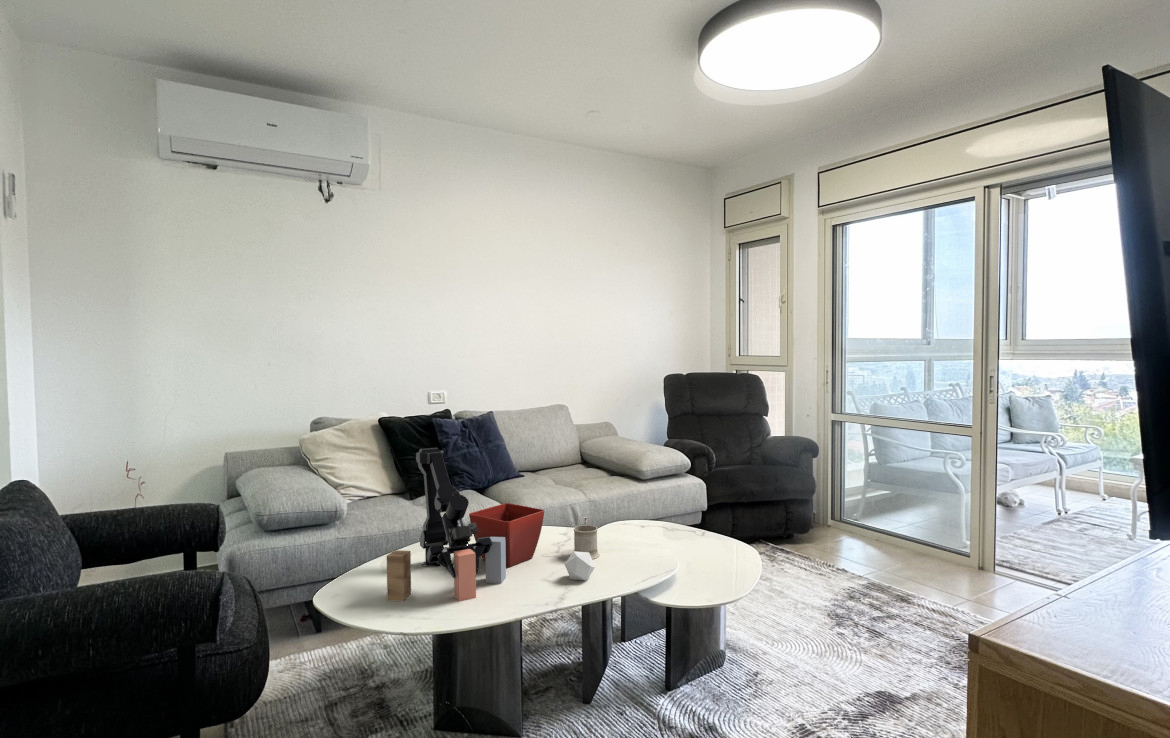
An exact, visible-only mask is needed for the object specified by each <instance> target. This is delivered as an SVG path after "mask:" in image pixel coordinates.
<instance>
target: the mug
mask: <svg viewBox="0 0 1170 738" xmlns="http://www.w3.org/2000/svg"><path fill="white" fill-rule="evenodd" d="M582 518H584V524H582V525H576V526H574V527H573V532H574V533H573V536H574V537H573V539H574V544H573V545H574V546H573V548H574V550H573V551H576V552H589V553H590V556H591V558H592V561H593V560H597V559H598V558H600V557H601V554H600V553H599V550H598V527H597V526H595V525H588V518H589V516H583V517H582Z"/></svg>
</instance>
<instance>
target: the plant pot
mask: <svg viewBox="0 0 1170 738" xmlns="http://www.w3.org/2000/svg"><path fill="white" fill-rule="evenodd" d="M468 515H469V521H470V522H469V524H470V523H474V522H475V523H476V526H477V533H476V534H472V536H473V539H474V541H475V542H476V541H477V538H482V537H505V543H506V568H511V567H513V566H516V565H518V564H521V563H523V562H526V561H528V560H530V559H533V558H534V555H535V552H536V550H537V546H538V543H539V541H540V536H541V532H542V527H543V523H544V516H545V509H542V508H536V507H531V506H526V505H521V504H515V503H510V502H507V503H505V502H504V503H502V504H498V505H494V506H490V507H487V508H483V509H480V510H477V511H473V512H469V513H468ZM481 559H482V561H484V562H486V559H485V554H482V555H481Z"/></svg>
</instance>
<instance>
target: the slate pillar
mask: <svg viewBox="0 0 1170 738" xmlns="http://www.w3.org/2000/svg"><path fill="white" fill-rule="evenodd" d="M489 538H490V539H491V541H492V545H491V548H490V550H489V552H488V553H486V554H485V559H486V561H485V583H486V584H497V585H498V584H499V585H501V584H503V582H504V581H505V580H506V578H507V569H506V568H507V567H506V543H505V537H489Z"/></svg>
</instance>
